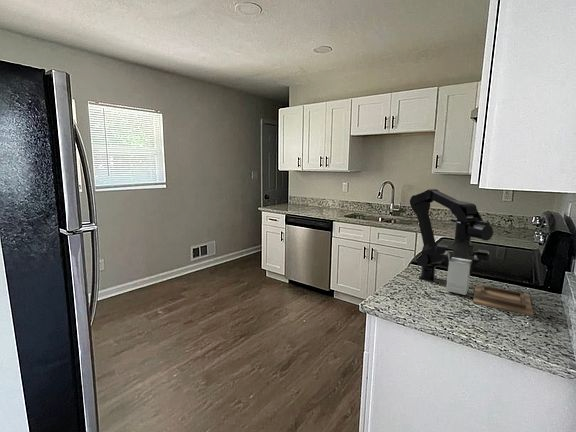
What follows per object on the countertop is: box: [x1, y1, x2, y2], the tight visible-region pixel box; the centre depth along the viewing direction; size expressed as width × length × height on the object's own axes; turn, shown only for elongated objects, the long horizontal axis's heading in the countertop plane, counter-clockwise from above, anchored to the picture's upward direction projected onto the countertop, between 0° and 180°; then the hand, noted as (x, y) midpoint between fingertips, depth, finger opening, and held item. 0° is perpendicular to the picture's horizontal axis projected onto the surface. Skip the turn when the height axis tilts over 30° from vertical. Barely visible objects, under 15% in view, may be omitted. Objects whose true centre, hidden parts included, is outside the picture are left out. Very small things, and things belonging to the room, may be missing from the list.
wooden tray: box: [472, 284, 534, 317], centre depth 120 cm, size 20×18×2 cm
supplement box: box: [445, 256, 473, 296], centre depth 126 cm, size 7×7×13 cm
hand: (459, 272), depth 126 cm, fingers closed on supplement box, 7 cm apart
